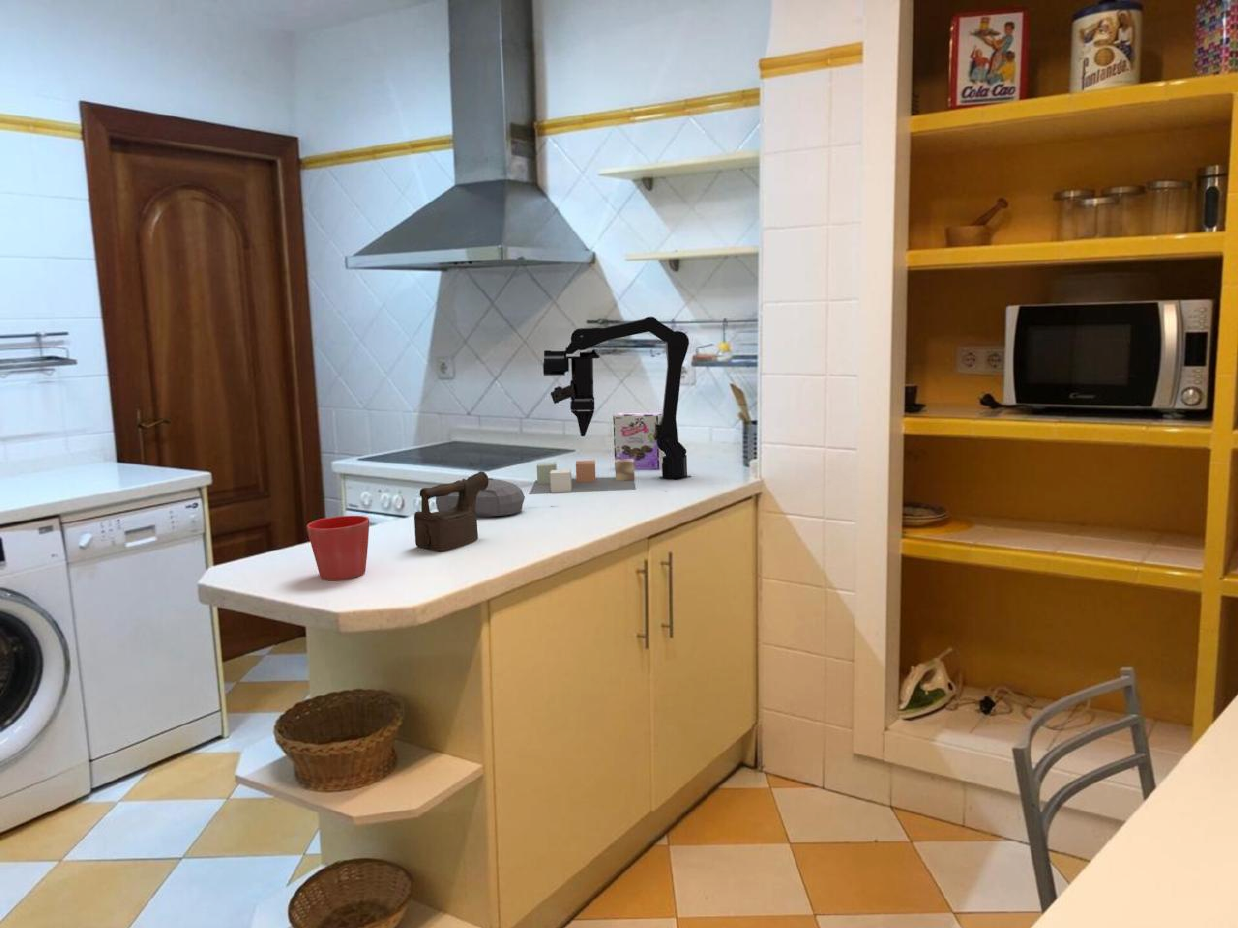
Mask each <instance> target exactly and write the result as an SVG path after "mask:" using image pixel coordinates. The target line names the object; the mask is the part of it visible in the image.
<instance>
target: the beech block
mask: <svg viewBox="0 0 1238 928" xmlns="http://www.w3.org/2000/svg"><path fill="white" fill-rule="evenodd" d="M614 467H615V477H616V481H628V480H634V481H635V477H636V476H635V469H634V459H624V460H615V459H614Z"/></svg>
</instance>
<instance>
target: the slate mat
mask: <svg viewBox="0 0 1238 928" xmlns="http://www.w3.org/2000/svg"><path fill="white" fill-rule="evenodd" d="M571 485H572V489H571V492H555V493H554V494H564V493H565V494H566V493H567V494H568V493H584V492H585V493H588V492H590V493H591V492H611V491H612V492H614V491H635V490H636V489H637V488H636V482H635V480H628V481H616V476H614V477H610V476H609V477H596V480H595V482H579V483H577V480H576V478H571ZM539 494H552V493H551V484H537V479H535V480H534V482H533V485H532V486H531V489H530V491H529V494H528V495H539Z"/></svg>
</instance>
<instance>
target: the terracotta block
mask: <svg viewBox="0 0 1238 928" xmlns="http://www.w3.org/2000/svg"><path fill="white" fill-rule="evenodd" d="M575 473H576V474H575V477H576V478H575V479H576V480H577V483H579V482H595V480H596V478H597V477H596V461H595V460H582V461H581V460H579V461H578V460H577V461H576V462H575Z"/></svg>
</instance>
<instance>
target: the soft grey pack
mask: <svg viewBox="0 0 1238 928" xmlns="http://www.w3.org/2000/svg"><path fill="white" fill-rule="evenodd" d="M466 480H467V479H465V478H462V479H461V481H464V482H465V481H466ZM488 480H489V483H488V487H487V488H486V489H485V490H480V491H479V492H478V494H477V497H476V503H475V511H476V517H485V518H492V517H505V516H509V515H514V514H518V513H520V512H521V511H522V510H523V506H524V502H525V498H526V496H525V494H524V490H522V489H521V487H519V486H518V485H516V484H515V483H512V482H510V481H506V480H503V479H496V478H491V477H490V478H489V477H488ZM448 484H450V482H449V483H448ZM458 497H459V492H453V493H450V494H448V495H445V496H439V497H435V504H436V509H437V512H439V511H445V510H450V509H453V508H454V507H455V506H456V504H457V502H458Z"/></svg>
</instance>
